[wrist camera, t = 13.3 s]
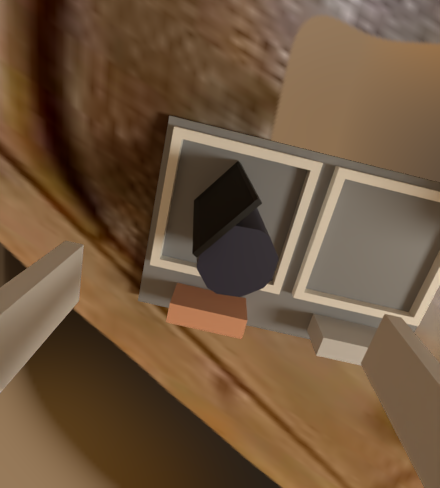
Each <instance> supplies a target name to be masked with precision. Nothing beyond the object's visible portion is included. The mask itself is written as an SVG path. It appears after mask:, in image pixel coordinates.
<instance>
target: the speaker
mask: <svg viewBox="0 0 440 488" xmlns="http://www.w3.org/2000/svg"><path fill="white" fill-rule="evenodd" d="M261 204H262V202H261V200H260V198H259V196H258V194H257V193H256V191H255V189H254V187H253V185H252V183H251V181H250V179H249V177H248V176H247V174H246V172H245V170H244V168H243V166H242V164H241V163H240V162H239V161H237V162H236V163H235V164H234V165H233V166H232V167H231V168H229V169H228V170H227V171H226V172H225V173H224V174H223V175H222V176H220V177H219V178H218V179H217V180H216V181H215V182H214V183H213V184H212V185H210V186H209V187H208V188H207V189H206V190H205V191H204V192H203V193H201V194H200V195H199V196H198V197H197V198H196V199H195V200H194V213H193V248H192V254H193V255H194V256H195V257H196V258H197V270H198V272H199V274H200V276H201V277H202V279H203V281H204V283H205V285H206V287H207V288H208V289H210V290H212V291H213V292H215V293H216V294H221V295H228V296H235V297H242V296H245V295H247V294H250V293H252V292H255V291H257V290H260V289H262V288H264V287H265V286H266V285H267V284H268V283H269V282H270V281H271V280H272V277H273V274H274V271H275V268H276V265H277V262H278V259H279V258H278V255H277V253H276V250H275V248H274V245H273V243H272V241H271V238H270V236H269V234H268V231H267V229H266V227H265V225H264V222H263V220H262V218H261V216H260V213H259V211H258V209H257V207H258V206H260V205H261Z"/></svg>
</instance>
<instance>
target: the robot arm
mask: <svg viewBox="0 0 440 488" xmlns="http://www.w3.org/2000/svg"><path fill="white" fill-rule="evenodd" d="M83 248H84V245H82V244H78V243H74V242H69V241H64V242H63V243H62V244H60V245H59V246H57V247H56V248H55V249H53V250H52V251H50V252H49V253H48V254H46V255H45V256H44V257H42V258H41V259H39V260H38V261H37V262H35V263H34V264H32V265H31V266H30V267H28V268H27V269H26V270H24V271H23V272H21V273H20V274H19V275H17V276H16V277H15V278H13V279H12V280H10V281H9V282H8V283H6V284H5V285H3V286H2V287H1V288H0V393H1V391H2V390H3V389H4V388H5V387H6V385H7V384H8V383H9V382H10V381H11V380H12V379H13V377H14V376H15V375H16V374H17V373H18V372H19V370H20V369H21V368H22V367H23V366H24V365H25V363H26V362H27V361H28V360H29V359H30V358H31V356H32V355H33V354H34V352H36V350H37V349H38V348H39V347H40V346H41V345H42V343H43V342H44V341H45V340H46V339H47V338H48V336H49V335H50V334H51V333H52V332H53V331H54V329H55V328H56V327H57V326H58V325H59V324H60V322H61V321H62V320H63V319H64V318H65V317H66V315H67V314H68V313H69V312H70V311H71V310H72V308H73V307H74V306H75V305H76V304H77V303H78V301H79V293H80V282H81V270H82V259H83ZM361 365H362V367H363V369H364V371H365V373H366V375H367V377H368V379H369V381H370V383H371V385H372V387H373V389H374V390H375V392H376V394H377V396H378V398H379V400H380V402H381V404H382V406H383V408H384V410H385V412H386V414H387V416H388V418H389V420H390V422H391V424H392V426H393V427H394V429H395V431H396V433H397V435H398V437H399V439H400V441H401V443H402V445H403V447H404V449H405V451H406V453H407V455H408V457H409V459H410V461H411V463H412V465H413V466H414V468H415V470H416V472H417V474H418V476H419V478H420V480H421V482H422V484H423V486H424V488H440V363H439V362H438V361H437V359H436V358H435V357H434V356H433V355H432V353H431V352H430V351H429V350H428V349H427V347H426V346H425V345H424V344H423V343H422V341H421V340H420V339H419V338H418V337H417V335H416V334H415V333H414V332H413V331H412V329H411V328H410V327H409V326H408V325H407V323H406V322H405V321H404V320H403V319H402V318H401V317H397V316H392V315H388V314H384V316H383V318H382V320H381V322H380V325H379V327H378V329H377V331H376V333H375V335H374V337H373V339H372V341H371V343H370V345H369V347H368V349H367V351H366V353H365V356H364V358H363V360H362V362H361Z"/></svg>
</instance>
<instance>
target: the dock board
mask: <svg viewBox="0 0 440 488" xmlns="http://www.w3.org/2000/svg"><path fill="white" fill-rule="evenodd" d="M237 161H239V162H240V163H241V164H242V166H243V168H244V170H245V172H246V174H247V176H248V177H249V179H250V181H251V183H252V185H253V187H254V189H255V191H256V193H257V194H258V196H259V198H260V200H261V202H262V204H261V205H260V206H258V207H257V209H258V211H259V213H260V216H261V218H262V220H263V222H264V225H265V227H266V229H267V231H268V234H269V236H270V238H271V241H272V243H273V245H274V248H275V250H276V253H277V255H278V258H279V259H278V262H277V265H276V268H275V271H274V274H273V277H272V280H271V281H270V282H269V283H268V284H267V285H266V286H265V287H264V288H262V289H260V290H257V291H255V292H252V293H250V294H247V295H245V296H242V297H235V296H228V295H221V294H216V293H215V292H213V291H212V290H210V289H208V288H207V287H206V285H205V283H204V281H203V279H202V277H201V276H200V274H199V272H198V270H197V258H196V257H195V256H194V255H193V254H192V248H193V213H194V200H195V199H196V198H197V197H198V196H199V195H200V194H201V193H203V192H204V191H205V190H206V189H207V188H208V187H209V186H210V185H212V184H213V183H214V182H215V181H216V180H217V179H218V178H219V177H220V176H222V175H223V174H224V173H225V172H226V171H227V170H228V169H229V168H231V167H232V166H233V165H234V164H235V163H236V162H237ZM439 285H440V183H439V182H435V181H431V180H428V179H423V178H420V177H415V176H411V175H407V174H403V173H399V172H395V171H391V170H387V169H383V168H379V167H375V166H371V165H367V164H363V163H359V162H355V161H351V160H347V159H343V158H339V157H335V156H331V155H327V154H323V153H319V152H315V151H311V150H307V149H303V148H299V147H295V146H291V145H287V144H283V143H278V142H274V141H271V140H267V139H263V138H259V137H255V136H251V135H247V134H242V133H238V132H234V131H230V130H226V129H222V128H218V127H214V126H210V125H206V124H202V123H198V122H194V121H190V120H186V119H182V118H178V117H174V116H169V120H168V126H167V132H166V138H165V144H164V150H163V156H162V162H161V168H160V174H159V180H158V185H157V191H156V197H155V203H154V209H153V215H152V221H151V227H150V233H149V239H148V245H147V251H146V257H145V263H144V269H143V274H142V280H141V286H140V292H139V298H138V301H141V302H146V303H150V304H155V305H159V306H164V307H168V308H169V310H168V315H167V320H166V322H167V323H172V324H176V325H181V326H185V327H190V328H195V329H199V330H204V331H208V332H213V333H217V334H222V335H226V336H231V337H235V338H240V339H242V337H243V334H244V330H245V327H246V325H248V326H253V327H257V328H262V329H266V330H271V331H275V332H280V333H284V334H289V335H293V336H298V337H302V338H307V339H310V340H311V342H312V345H313V348H314V351H315V354H316V356H321V357H325V358H330V359H334V360H339V361H343V362H348V363H352V364H357V365H361V362H362V360H363V358H364V356H365V353H366V351H367V349H368V347H369V345H370V343H371V341H372V339H373V337H374V335H375V333H376V331H377V329H378V327H379V325H380V322H381V320H382V318H383V316H384V314H388V315H392V316H397V317H401V318H402V319H403V320H404V321H405V322H406V323H407V325H408V326H409V327H410V328H411V329H412V331H413V332H415V330H416V328H417V326H419V324H420V322H421V320H422V318H423V316H424V314H425V312H426V310H427V308H428V306H429V305H430V303H431V301H432V299H433V297H434V295H435V293H436V291H437V289H438V287H439ZM361 366H362V365H361Z"/></svg>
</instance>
